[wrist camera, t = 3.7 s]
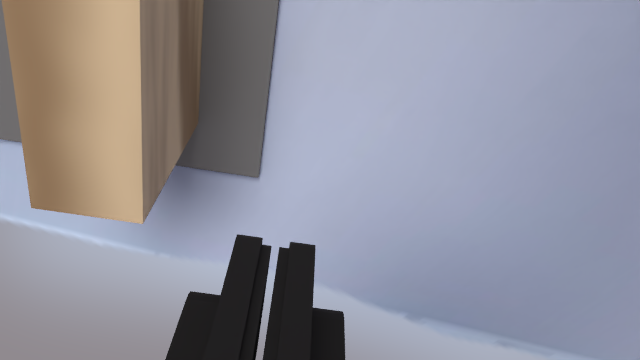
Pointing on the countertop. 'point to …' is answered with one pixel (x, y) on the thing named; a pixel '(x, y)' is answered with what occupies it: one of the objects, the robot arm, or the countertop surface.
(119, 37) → the slab
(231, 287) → the robot arm
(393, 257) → the countertop surface
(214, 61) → the mat
